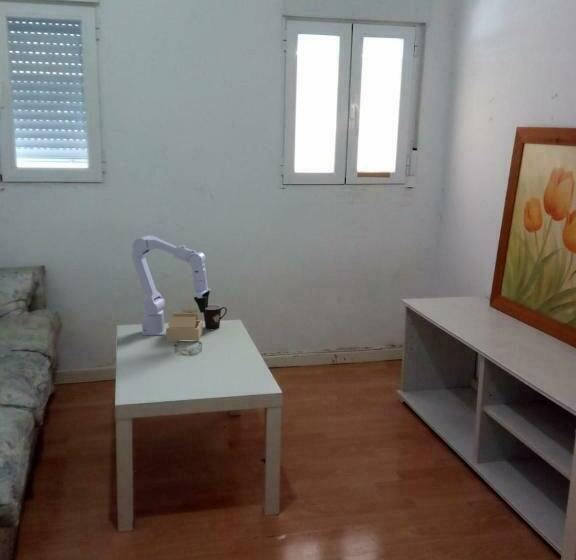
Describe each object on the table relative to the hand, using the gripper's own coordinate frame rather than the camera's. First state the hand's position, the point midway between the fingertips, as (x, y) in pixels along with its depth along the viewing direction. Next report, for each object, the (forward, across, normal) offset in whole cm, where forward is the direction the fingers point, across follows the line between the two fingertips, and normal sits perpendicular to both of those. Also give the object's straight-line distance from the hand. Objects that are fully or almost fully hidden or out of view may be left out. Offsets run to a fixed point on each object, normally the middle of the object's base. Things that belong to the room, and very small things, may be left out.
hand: (204, 309), depth 279 cm
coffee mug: (+13, +14, -2) cm, 19 cm away
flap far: (+3, +4, +9) cm, 10 cm away
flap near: (+3, -4, +9) cm, 11 cm away
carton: (+12, 0, +10) cm, 15 cm away
